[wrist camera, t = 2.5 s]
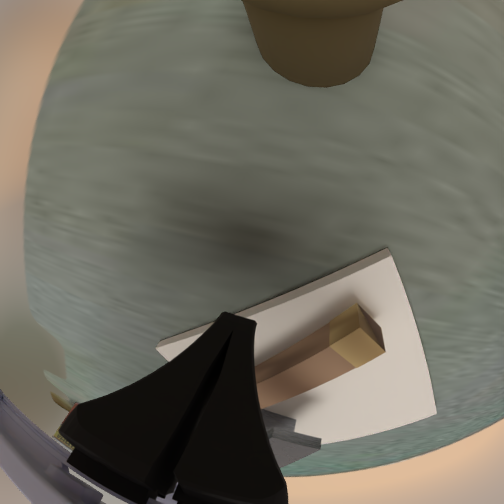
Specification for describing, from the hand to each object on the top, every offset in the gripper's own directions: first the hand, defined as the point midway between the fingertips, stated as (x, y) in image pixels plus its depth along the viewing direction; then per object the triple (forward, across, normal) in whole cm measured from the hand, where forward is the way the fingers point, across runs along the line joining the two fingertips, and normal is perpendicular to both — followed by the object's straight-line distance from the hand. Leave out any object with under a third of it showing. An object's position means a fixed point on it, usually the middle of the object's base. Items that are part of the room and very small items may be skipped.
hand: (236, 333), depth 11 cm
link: (+5, -3, +7) cm, 9 cm away
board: (+6, -7, +12) cm, 15 cm away
